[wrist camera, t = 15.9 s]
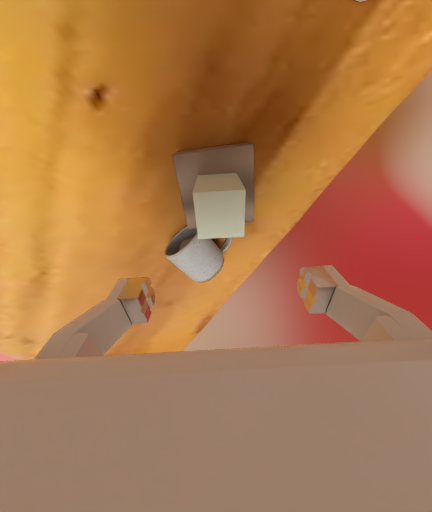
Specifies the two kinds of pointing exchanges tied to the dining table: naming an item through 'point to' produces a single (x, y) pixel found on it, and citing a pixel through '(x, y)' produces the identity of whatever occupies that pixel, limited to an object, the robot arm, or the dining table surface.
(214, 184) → the sage block
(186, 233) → the ceramic mug
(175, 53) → the dining table surface
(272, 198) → the dining table surface
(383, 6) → the dining table surface
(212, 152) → the walnut block
